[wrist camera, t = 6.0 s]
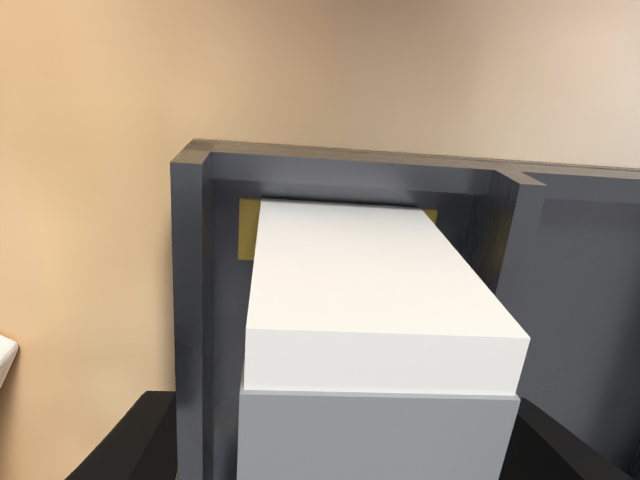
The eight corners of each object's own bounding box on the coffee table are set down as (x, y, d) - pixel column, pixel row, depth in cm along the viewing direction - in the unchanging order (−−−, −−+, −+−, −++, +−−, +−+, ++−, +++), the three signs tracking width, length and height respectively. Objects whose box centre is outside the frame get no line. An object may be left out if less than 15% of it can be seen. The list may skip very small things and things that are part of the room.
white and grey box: (422, 208, 13) (537, 342, 7) (381, 452, 16) (439, 687, 10) (259, 197, 12) (241, 332, 7) (248, 450, 15) (229, 695, 9)
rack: (743, 175, 14) (859, 207, 11) (623, 487, 18) (687, 568, 15) (193, 138, 12) (168, 164, 9) (196, 487, 16) (178, 577, 13)
